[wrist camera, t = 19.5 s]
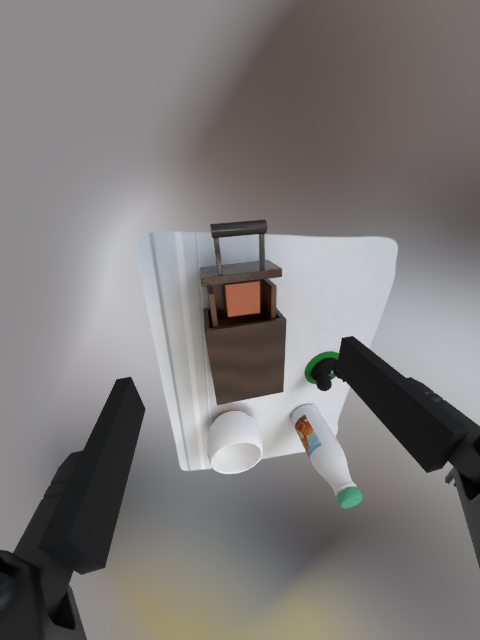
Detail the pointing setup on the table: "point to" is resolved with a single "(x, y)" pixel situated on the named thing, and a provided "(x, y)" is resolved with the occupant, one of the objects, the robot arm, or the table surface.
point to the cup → (234, 443)
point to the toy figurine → (323, 370)
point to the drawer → (240, 275)
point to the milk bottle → (325, 453)
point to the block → (242, 297)
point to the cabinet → (246, 358)
